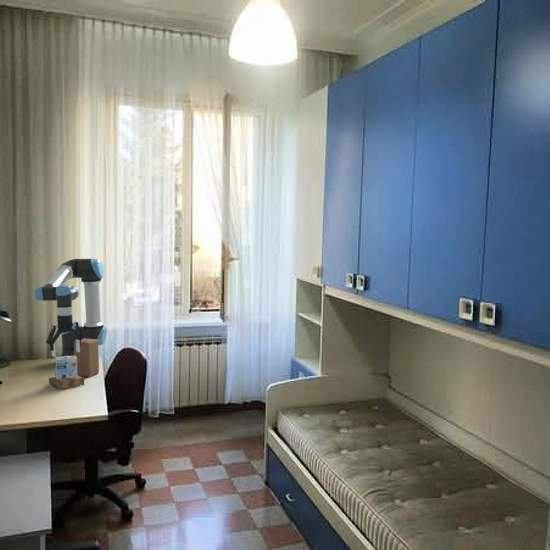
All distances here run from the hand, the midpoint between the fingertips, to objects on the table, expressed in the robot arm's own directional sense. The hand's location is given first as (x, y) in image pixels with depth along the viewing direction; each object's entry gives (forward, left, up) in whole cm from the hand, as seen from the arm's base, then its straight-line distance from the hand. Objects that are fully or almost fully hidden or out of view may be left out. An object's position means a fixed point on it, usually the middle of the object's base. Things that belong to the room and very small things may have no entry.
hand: (66, 354), depth 300 cm
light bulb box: (0, 0, -13) cm, 13 cm away
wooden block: (-18, -11, -17) cm, 27 cm away
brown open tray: (0, 0, -17) cm, 17 cm away
